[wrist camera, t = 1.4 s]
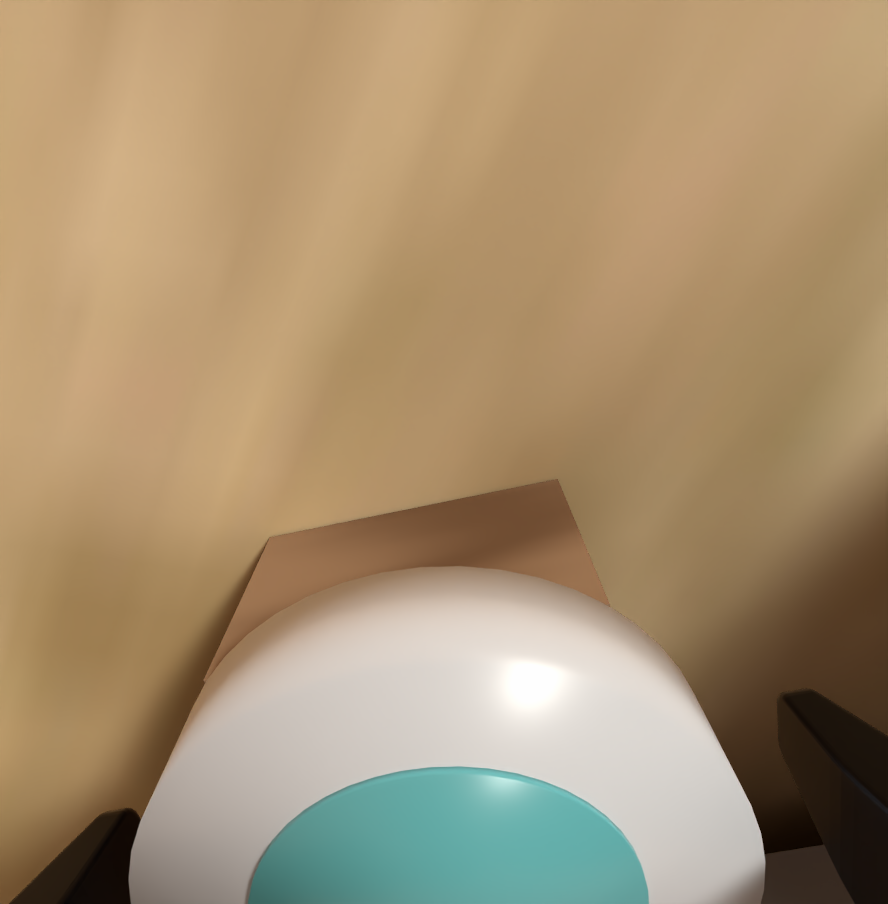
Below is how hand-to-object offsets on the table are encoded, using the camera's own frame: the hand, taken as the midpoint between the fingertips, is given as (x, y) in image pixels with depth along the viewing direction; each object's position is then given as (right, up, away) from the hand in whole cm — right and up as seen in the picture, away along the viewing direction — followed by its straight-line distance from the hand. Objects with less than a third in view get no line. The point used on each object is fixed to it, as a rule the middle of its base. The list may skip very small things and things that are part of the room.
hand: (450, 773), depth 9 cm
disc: (0, 0, 0) cm, 0 cm away
